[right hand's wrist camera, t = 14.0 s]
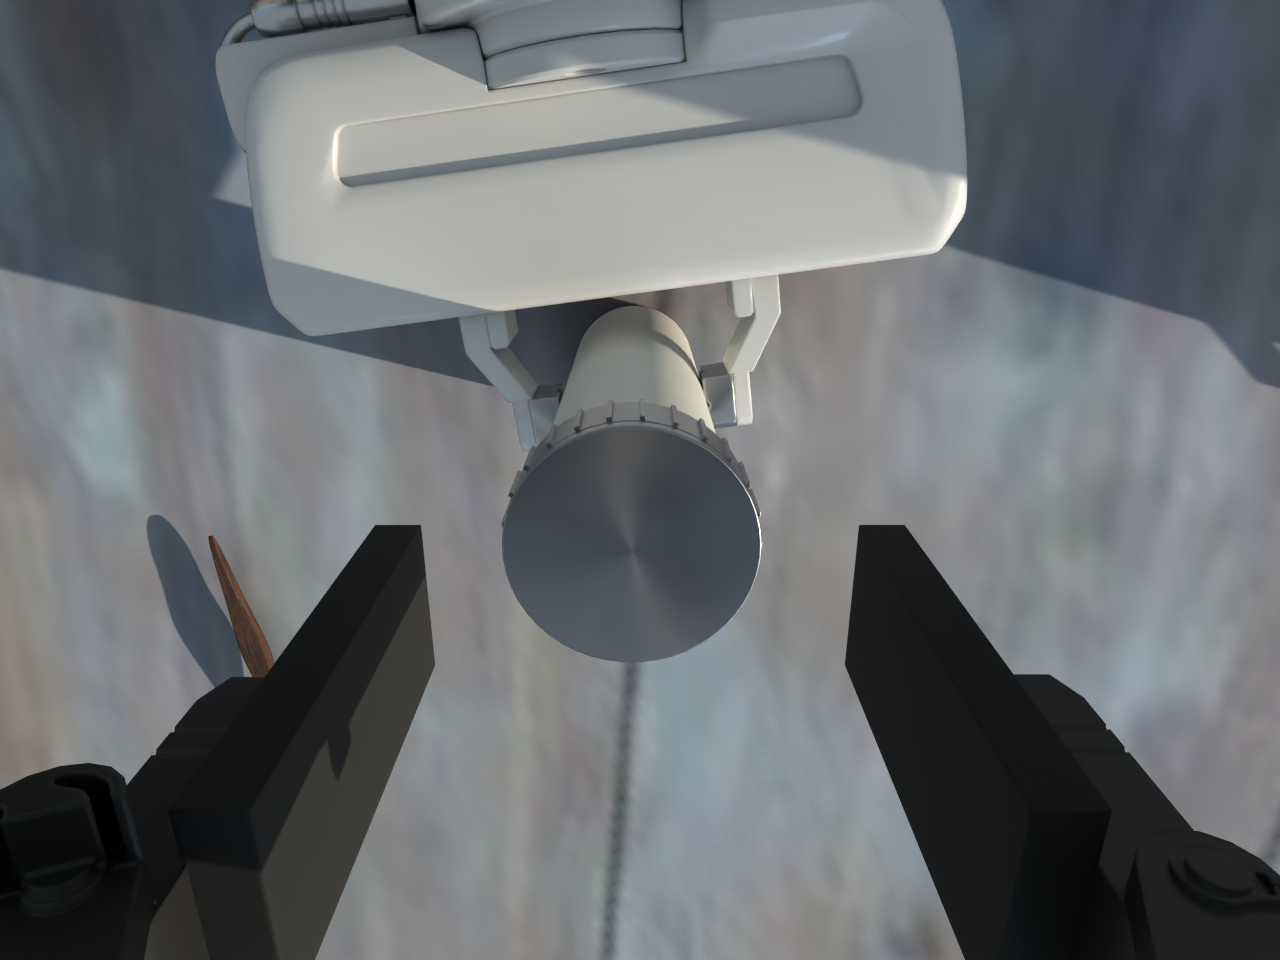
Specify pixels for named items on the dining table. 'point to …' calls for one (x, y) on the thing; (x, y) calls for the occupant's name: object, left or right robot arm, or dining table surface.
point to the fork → (242, 618)
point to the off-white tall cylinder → (634, 365)
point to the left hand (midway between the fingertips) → (638, 433)
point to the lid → (631, 532)
